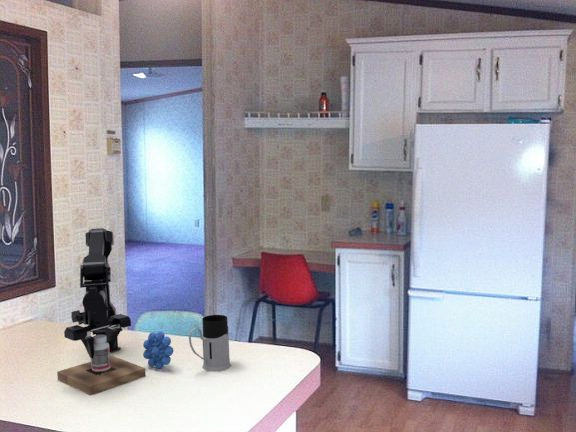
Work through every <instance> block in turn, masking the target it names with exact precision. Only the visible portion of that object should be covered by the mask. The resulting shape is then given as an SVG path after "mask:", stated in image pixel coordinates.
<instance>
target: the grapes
mask: <svg viewBox="0 0 576 432" xmlns="http://www.w3.org/2000/svg"><path fill="white" fill-rule="evenodd" d="M171 342H172V340H171V338H170V336H167V335H165V333H164V331H162V330H159V331H157V332H154V331H152V332H150V333H149V334H148V336H147V339H146V340H145V339H144V341H143V344H142V345H143V348H144V349H145V350H144V351H143V354H142V355H143V358H144V359H146V360H147V366H149V367H150V368H155V369H157V370H162V369H163V368H164V367H165V366H168V365H170V363H171V360H172V358H171V356H172V355H173V353H174V347H172V346H171Z"/></svg>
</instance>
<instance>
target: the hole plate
mask: <svg viewBox="0 0 576 432" xmlns="http://www.w3.org/2000/svg"><path fill="white" fill-rule="evenodd" d="M110 361H111V368H110V369H108V370H106V371H102V372H96V371H93V370H92V365H91V361H88V362H85V363H81V364H78V365H75V366H71V367H68V368H64V369H62V370H57V372H56V373H57V381H58V382H61V383H63V384H66V385H68V386H70V387H73V388H74V389H77V390H78V391H80V392H83V393H85V394H87V395H89V396H94V395H95V394H99V393H101V392H104V391H107V390H111V389H113V388H116V387H119V386H122V385H124V384H128V383H130V382H133V381H136V380H139V379H142V378H145V377H146V375H147V374H146V367H143V366H141V365H138V364H136V363H133V362H129V361H128V360H125V359H122V358H120V357H116V356H114V355H111V354H110Z"/></svg>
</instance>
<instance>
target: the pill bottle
mask: <svg viewBox="0 0 576 432" xmlns="http://www.w3.org/2000/svg"><path fill="white" fill-rule="evenodd" d="M92 337H94V356H93V358H90V362H91V365H92V370H93V371H96V372H102V371H106V370H108V369H110V368H111V361H110V356H111V353H110V346H109V343H107V342H106V341H107V337H106V335H96V334H95V335H92Z"/></svg>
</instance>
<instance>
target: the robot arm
mask: <svg viewBox="0 0 576 432" xmlns="http://www.w3.org/2000/svg"><path fill="white" fill-rule="evenodd" d="M85 245H86V247H88V255H86V256H85V257H83V259H82V264H80V270H79V272H80V274H79V275H80V279H79V281H80V282H79V287H80V288H85V293H84V296H83V298H82V307H83V311H82V312H81V311H80V310H74V311H71V321H72V323H77V322H78V324H76V325H72V326H67V327H66V328H65V329H64V338H66V339H68V340H71V341H74V342H76V341H80V342H82V344H83V345H84V348H85V350H86V352H87V354H88V356H89V358H90V359H91V358H93V356H94V337H93V336H96V335H106V337H107V341H106V342H107V343H109V346H110V354H111V353H113V352H117V351H120V350H122V348H121V347H120V346H119V340H118V339H119V338H118V337H119V335H120V333H121V332H122V331H123V328H128V327H132V319H131V318H130V316H129V315H125V314H122V313H118V314H117V311H116V310H117V308H116V307H115V306H114V304H113V303H112V301H111V289H110V287H111V286H110V282H112V278H111V277H112V274H111V273H112V272H111V271H112V269H111V266H110V264H109V257H110V255H111V252H112V250H113V246H114V245H115V238H114V233H113V231H111V230H107V229H106V228H103V227H101V228H100V227H99V228H98V227H97V228H91V229H89V230H88V231H87V232H85ZM81 325H84V326H81ZM91 333H92V334H91Z"/></svg>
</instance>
